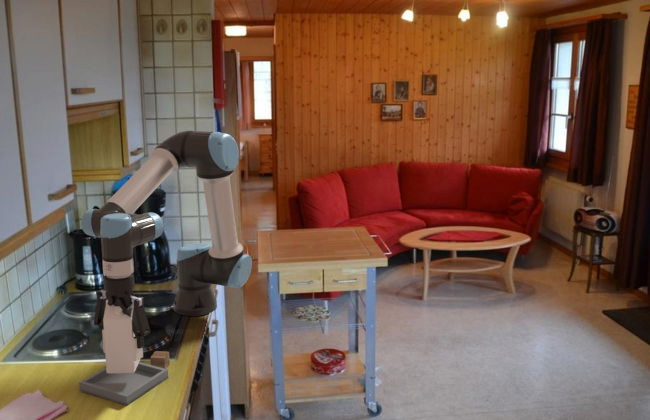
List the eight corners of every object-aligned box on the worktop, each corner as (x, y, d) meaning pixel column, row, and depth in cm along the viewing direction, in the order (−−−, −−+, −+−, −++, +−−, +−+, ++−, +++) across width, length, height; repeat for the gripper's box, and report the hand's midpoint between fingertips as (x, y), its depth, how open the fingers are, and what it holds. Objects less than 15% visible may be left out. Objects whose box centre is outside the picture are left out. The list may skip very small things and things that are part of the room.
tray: (123, 365, 173) (122, 357, 172) (168, 377, 166) (168, 369, 166) (79, 391, 158) (78, 382, 158) (127, 405, 152) (126, 396, 151)
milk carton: (113, 361, 164) (109, 295, 160) (140, 361, 165) (137, 294, 161) (106, 374, 157) (102, 305, 153) (134, 373, 158) (130, 304, 154)
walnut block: (155, 363, 174) (155, 351, 173) (169, 364, 174) (169, 351, 173) (151, 370, 170) (150, 357, 170) (165, 371, 170) (164, 358, 169)
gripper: (75, 271, 157) (80, 352, 162) (142, 285, 148) (146, 369, 153) (96, 264, 163) (101, 341, 168) (163, 276, 155) (166, 357, 159)
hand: (123, 354), depth 160 cm, fingers closed on milk carton, 10 cm apart
